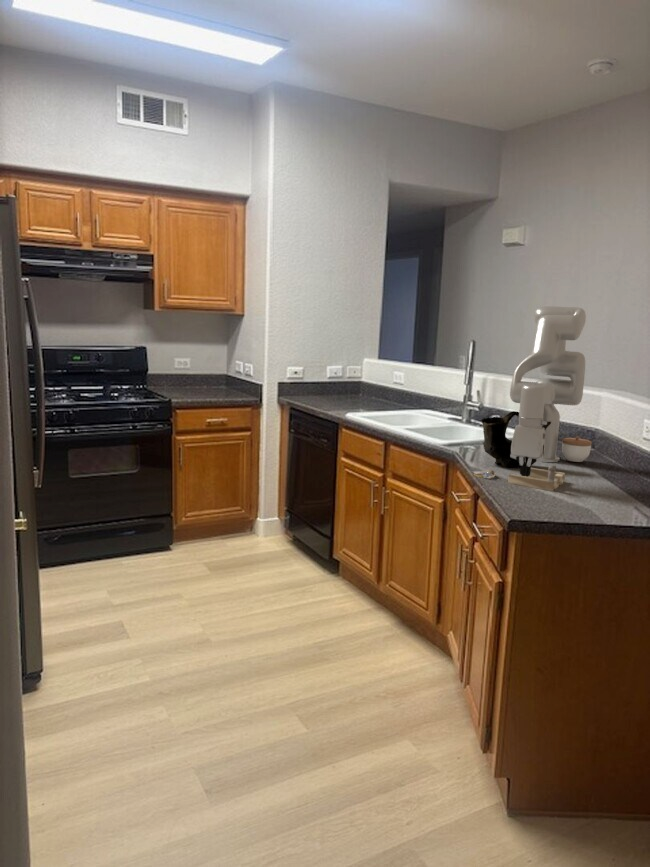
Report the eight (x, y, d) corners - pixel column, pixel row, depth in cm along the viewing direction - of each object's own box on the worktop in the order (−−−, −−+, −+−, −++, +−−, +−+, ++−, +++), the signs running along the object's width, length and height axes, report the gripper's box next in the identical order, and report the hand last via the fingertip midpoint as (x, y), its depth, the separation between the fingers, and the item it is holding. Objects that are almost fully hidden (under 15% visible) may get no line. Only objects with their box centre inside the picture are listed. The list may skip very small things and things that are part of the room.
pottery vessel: (540, 463, 243) (545, 410, 240) (550, 470, 233) (556, 415, 229) (474, 460, 243) (478, 408, 239) (481, 467, 232) (486, 412, 228)
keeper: (522, 474, 224) (524, 452, 222) (564, 481, 216) (566, 458, 215) (506, 485, 209) (508, 460, 207) (550, 493, 201) (553, 468, 200)
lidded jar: (592, 464, 245) (595, 440, 243) (562, 461, 247) (565, 437, 245) (586, 458, 255) (589, 435, 254) (558, 456, 257) (560, 432, 256)
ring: (471, 476, 222) (476, 478, 215) (471, 467, 222) (477, 468, 214) (491, 478, 223) (497, 480, 215) (492, 468, 222) (498, 470, 214)
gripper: (556, 424, 211) (550, 478, 214) (511, 418, 219) (506, 471, 222) (550, 427, 205) (544, 483, 208) (504, 421, 213) (499, 475, 216)
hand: (524, 477), depth 215 cm, fingers closed
